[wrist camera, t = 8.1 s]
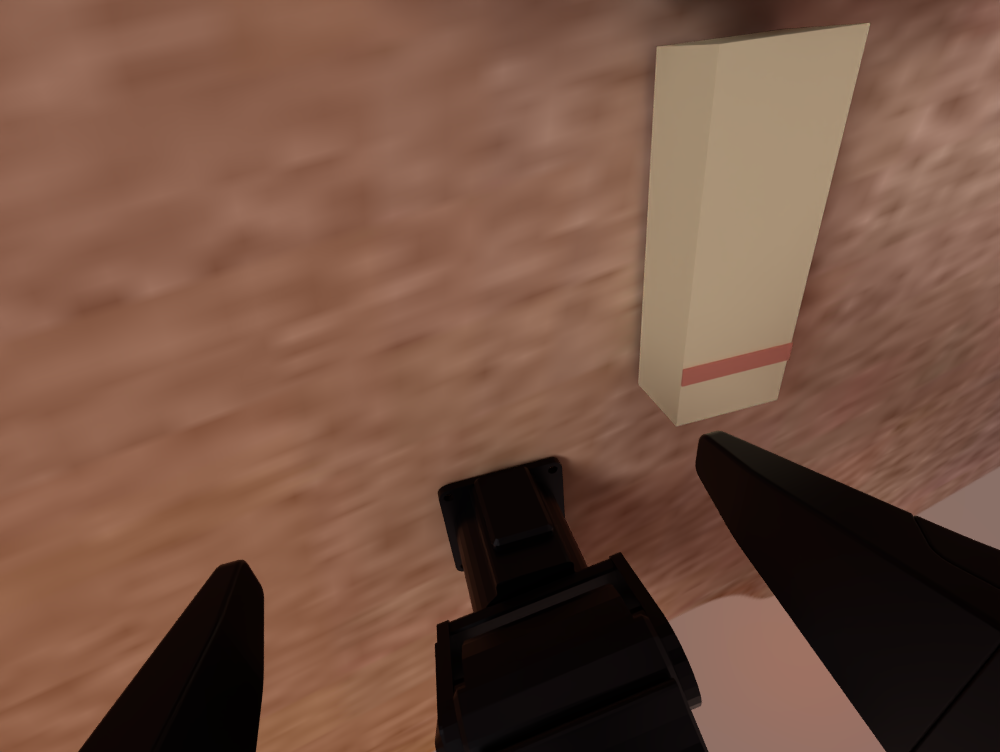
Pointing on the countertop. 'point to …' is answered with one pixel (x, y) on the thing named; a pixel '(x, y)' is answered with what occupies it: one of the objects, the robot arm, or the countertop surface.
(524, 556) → the robot arm
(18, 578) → the countertop surface
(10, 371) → the countertop surface
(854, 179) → the countertop surface
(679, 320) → the cream striped pillar
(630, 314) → the countertop surface
